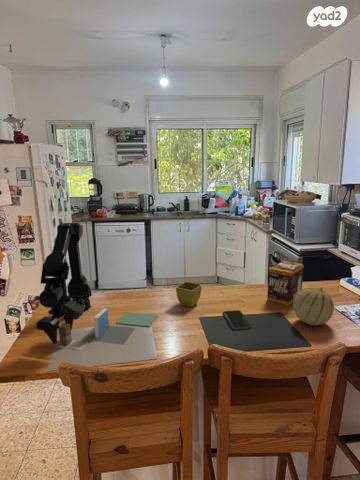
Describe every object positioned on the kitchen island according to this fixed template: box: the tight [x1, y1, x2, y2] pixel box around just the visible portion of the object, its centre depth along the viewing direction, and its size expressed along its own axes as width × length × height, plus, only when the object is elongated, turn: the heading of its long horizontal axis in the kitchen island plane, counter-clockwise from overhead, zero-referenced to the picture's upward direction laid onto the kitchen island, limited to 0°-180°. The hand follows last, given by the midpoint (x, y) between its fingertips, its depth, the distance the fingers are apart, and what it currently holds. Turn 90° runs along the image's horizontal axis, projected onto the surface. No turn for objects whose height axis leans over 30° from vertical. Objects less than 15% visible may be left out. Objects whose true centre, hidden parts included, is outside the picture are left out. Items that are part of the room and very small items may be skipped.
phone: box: [222, 310, 252, 331], centre depth 135 cm, size 8×1×15 cm
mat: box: [81, 324, 137, 345], centre depth 125 cm, size 16×12×1 cm
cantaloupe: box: [292, 286, 335, 326], centre depth 130 cm, size 15×15×15 cm
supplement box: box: [267, 260, 305, 306], centre depth 155 cm, size 10×15×16 cm
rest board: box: [115, 311, 158, 328], centre depth 136 cm, size 14×10×1 cm
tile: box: [93, 307, 110, 338], centre depth 125 cm, size 2×8×8 cm, turn 166°
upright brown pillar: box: [57, 322, 90, 351], centre depth 117 cm, size 9×5×8 cm, turn 76°
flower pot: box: [175, 281, 203, 308], centre depth 150 cm, size 9×9×9 cm
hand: (62, 336), depth 118 cm, fingers open, 9 cm apart
